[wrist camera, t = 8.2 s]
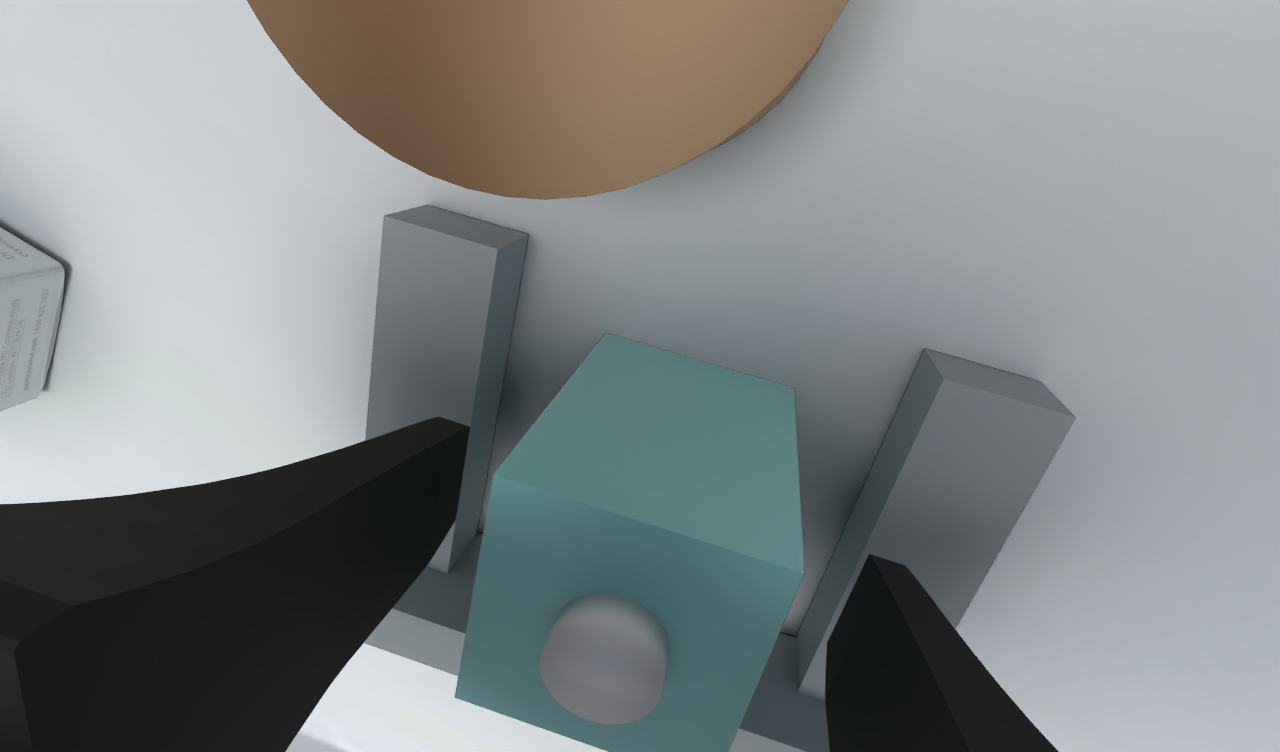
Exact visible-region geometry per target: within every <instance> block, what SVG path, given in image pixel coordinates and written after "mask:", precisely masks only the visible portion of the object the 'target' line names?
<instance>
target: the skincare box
mask: <svg viewBox="0 0 1280 752" xmlns="http://www.w3.org/2000/svg"><path fill="white" fill-rule="evenodd" d="M64 278H65V271H64V268H63V266H62V265H61V264H60V263H59V262H58V261H56V260H55V259H53V258H51V257H49V256H48V255H46V254H44V253H43V252H41V251H39V250H38V249H36V248H34V247H33V246H31V245H29V244H27V243H26V242H24V241H22V240H21V239H19V238H17V237H16V236H14V235H12V234H11V233H9V232H7V231H6V230H4V229H2V228H1V227H0V411H2V410H4V409H7V408H10V407H12V406H15V405H18V404H21V403H24V402H26V401H28V400H31V399H33V398H36V397H37V396H38V395H39V392H40V391H41V390H42V389H43V387H44V384H45V381H46V377H47V372H48V369H49V366H50V362H51V357H52V354H53V349H54V344H55V338H56V333H57V328H58V323H59V318H60V313H61V305H62V298H63V290H64Z"/></svg>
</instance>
